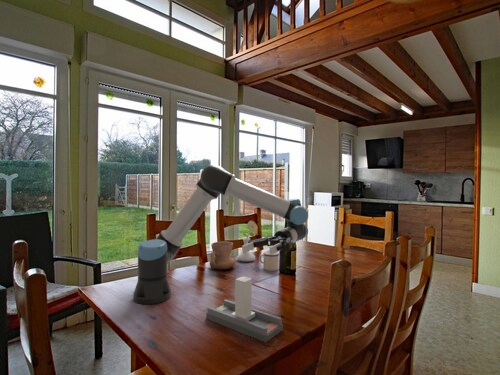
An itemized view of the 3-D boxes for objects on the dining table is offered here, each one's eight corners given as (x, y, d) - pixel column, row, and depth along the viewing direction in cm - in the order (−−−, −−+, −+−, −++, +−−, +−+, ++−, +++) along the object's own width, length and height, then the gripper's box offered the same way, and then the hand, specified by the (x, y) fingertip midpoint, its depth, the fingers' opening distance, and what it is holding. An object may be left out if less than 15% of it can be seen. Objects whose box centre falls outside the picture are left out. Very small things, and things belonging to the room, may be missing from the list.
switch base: (206, 318, 106) (206, 307, 106) (224, 309, 114) (224, 298, 114) (266, 342, 91) (266, 330, 91) (282, 330, 99) (283, 318, 99)
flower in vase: (240, 263, 178) (241, 222, 177) (234, 259, 188) (234, 220, 188) (260, 261, 183) (261, 221, 182) (252, 257, 193) (253, 219, 193)
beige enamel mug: (281, 267, 170) (281, 247, 170) (275, 272, 162) (275, 251, 162) (262, 265, 176) (262, 245, 176) (255, 268, 168) (255, 248, 167)
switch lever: (231, 317, 102) (231, 279, 102) (241, 311, 107) (242, 275, 107) (244, 323, 98) (245, 283, 98) (255, 316, 103) (255, 278, 103)
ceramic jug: (222, 262, 180) (222, 239, 180) (241, 266, 172) (241, 242, 171) (201, 270, 166) (201, 244, 165) (220, 274, 157) (220, 248, 157)
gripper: (312, 246, 122) (285, 261, 106) (263, 245, 138) (233, 257, 122) (309, 229, 122) (282, 241, 106) (261, 229, 138) (231, 239, 121)
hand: (256, 250), depth 114 cm, fingers open, 13 cm apart
